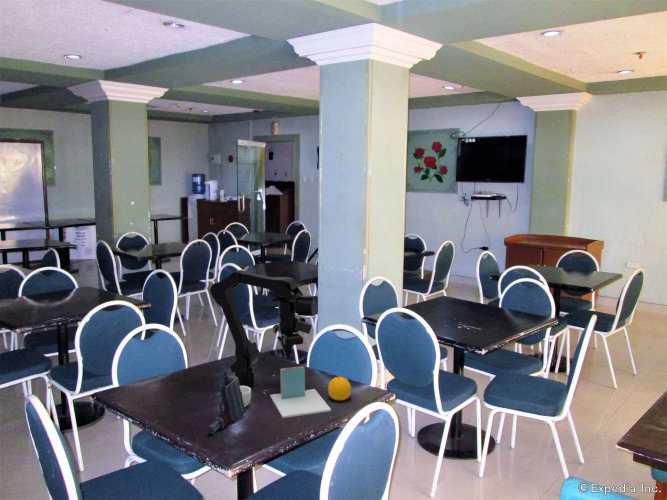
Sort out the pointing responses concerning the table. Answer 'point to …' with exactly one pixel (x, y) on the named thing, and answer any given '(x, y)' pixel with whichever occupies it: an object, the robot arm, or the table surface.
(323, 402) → the mat
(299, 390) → the tile
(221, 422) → the gun
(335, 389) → the orange
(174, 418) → the table surface
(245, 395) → the teacup
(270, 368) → the table surface
